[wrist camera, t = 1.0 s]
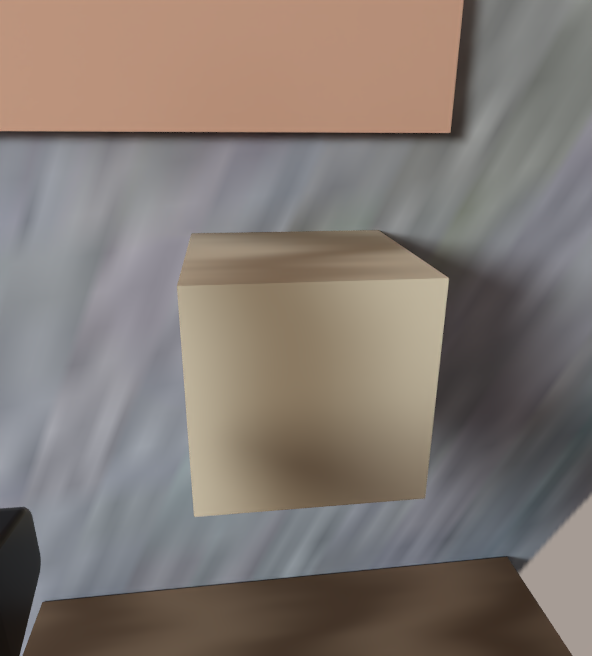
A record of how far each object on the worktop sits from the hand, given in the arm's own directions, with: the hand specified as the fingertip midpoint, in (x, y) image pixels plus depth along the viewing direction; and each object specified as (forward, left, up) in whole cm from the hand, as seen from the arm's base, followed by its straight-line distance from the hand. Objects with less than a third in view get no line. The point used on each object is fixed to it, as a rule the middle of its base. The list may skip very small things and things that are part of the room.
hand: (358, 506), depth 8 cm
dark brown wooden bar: (0, +12, -8) cm, 14 cm away
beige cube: (0, 0, -8) cm, 8 cm away
